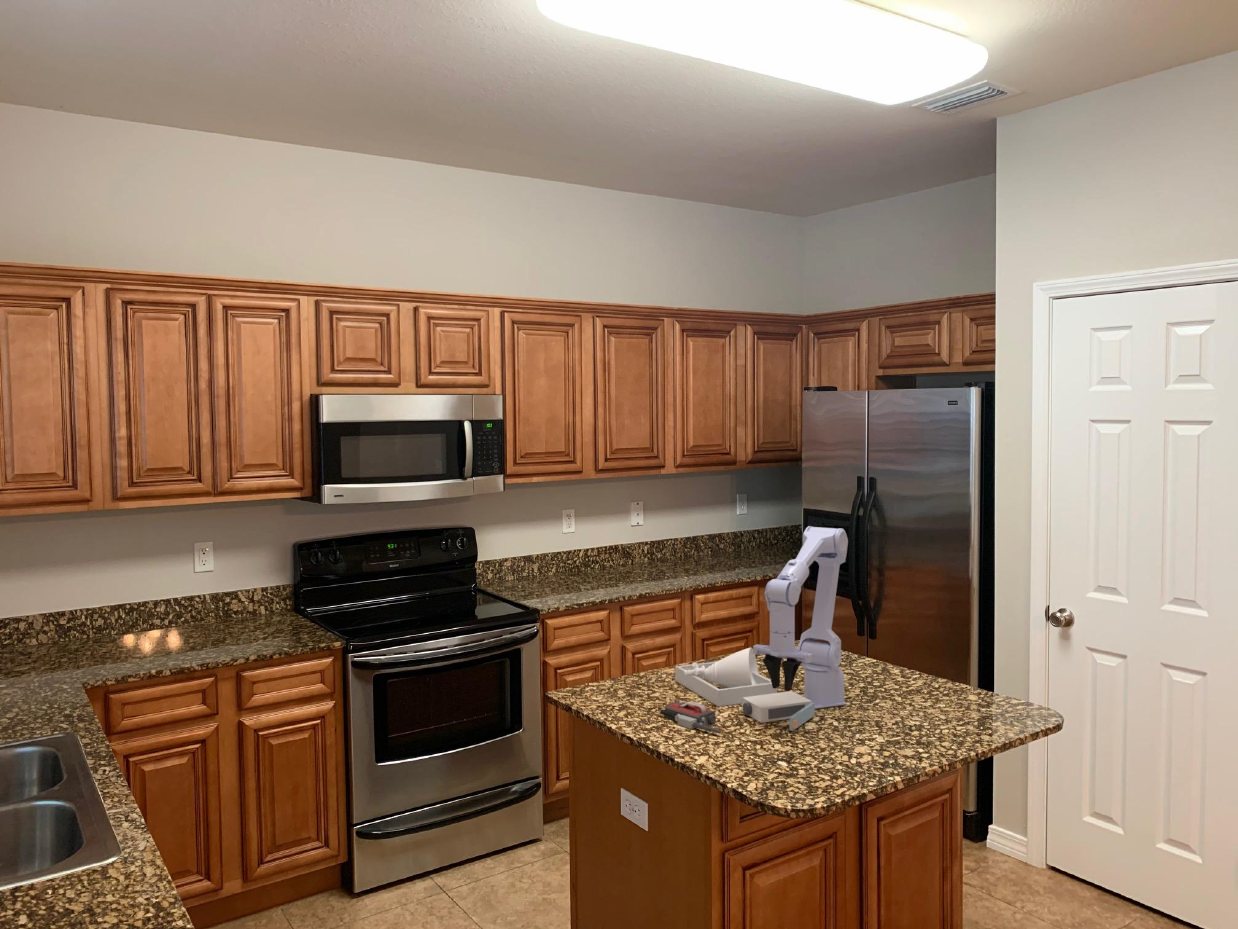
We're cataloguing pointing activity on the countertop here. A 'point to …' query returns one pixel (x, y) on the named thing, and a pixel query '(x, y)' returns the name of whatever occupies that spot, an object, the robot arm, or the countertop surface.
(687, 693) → the countertop surface
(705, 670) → the rocket engine
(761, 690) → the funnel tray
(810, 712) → the side door
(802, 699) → the white box with knob
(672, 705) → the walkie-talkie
